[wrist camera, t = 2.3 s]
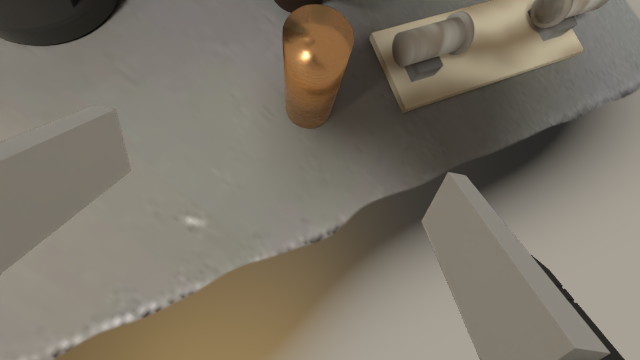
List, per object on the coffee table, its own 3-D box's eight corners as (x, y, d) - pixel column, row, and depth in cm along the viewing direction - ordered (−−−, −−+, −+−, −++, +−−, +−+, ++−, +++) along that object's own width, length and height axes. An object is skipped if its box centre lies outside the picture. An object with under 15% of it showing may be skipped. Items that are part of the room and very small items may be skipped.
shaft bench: (369, 38, 31) (388, -9, 25) (540, -8, 35) (593, -59, 29) (402, 113, 30) (431, 82, 24) (575, 55, 34) (639, 16, 28)
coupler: (279, 93, 29) (272, 13, 18) (321, 81, 30) (338, -3, 19) (295, 134, 28) (297, 76, 17) (337, 120, 29) (364, 57, 18)
